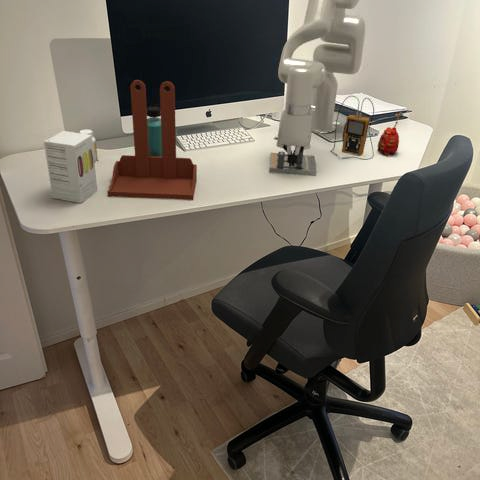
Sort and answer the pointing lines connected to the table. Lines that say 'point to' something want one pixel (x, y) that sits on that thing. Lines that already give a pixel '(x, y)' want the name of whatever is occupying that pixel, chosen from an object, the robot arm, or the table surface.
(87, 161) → the supplement box
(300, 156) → the breaker mid
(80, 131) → the supplement bottle
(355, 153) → the multimeter
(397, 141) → the red clay folk toy
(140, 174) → the hanging shelf
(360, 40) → the robot arm
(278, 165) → the breaker near
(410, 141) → the table surface
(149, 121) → the beverage bottle
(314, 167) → the panel
